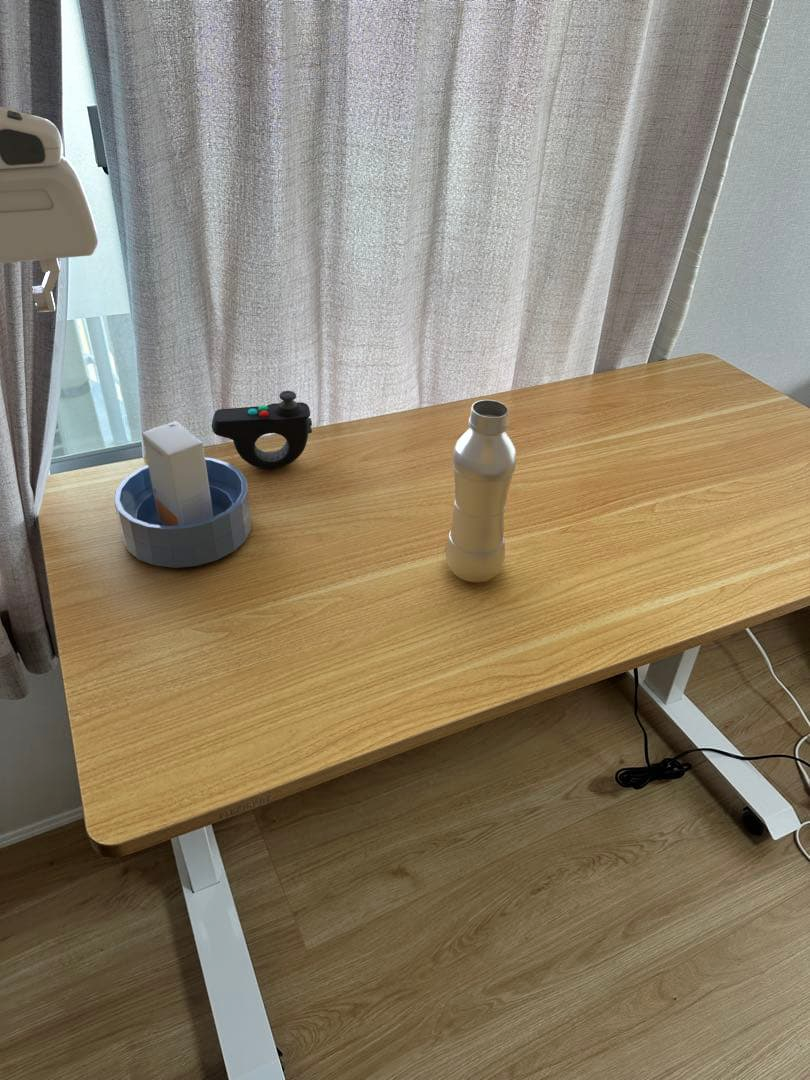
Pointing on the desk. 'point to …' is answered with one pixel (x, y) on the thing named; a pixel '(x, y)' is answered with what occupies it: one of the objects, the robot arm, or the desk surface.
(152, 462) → the cosmetic box
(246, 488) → the bowl
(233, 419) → the controller
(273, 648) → the desk surface
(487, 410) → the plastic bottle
